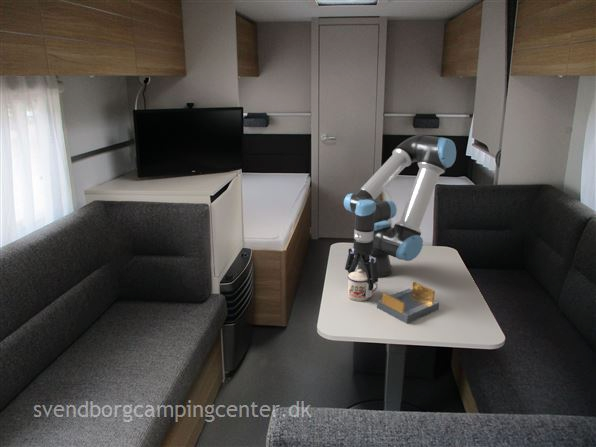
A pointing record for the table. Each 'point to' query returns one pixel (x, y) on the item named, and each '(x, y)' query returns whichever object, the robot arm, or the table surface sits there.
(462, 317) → the table surface
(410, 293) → the grey tray
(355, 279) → the teacup with lid
